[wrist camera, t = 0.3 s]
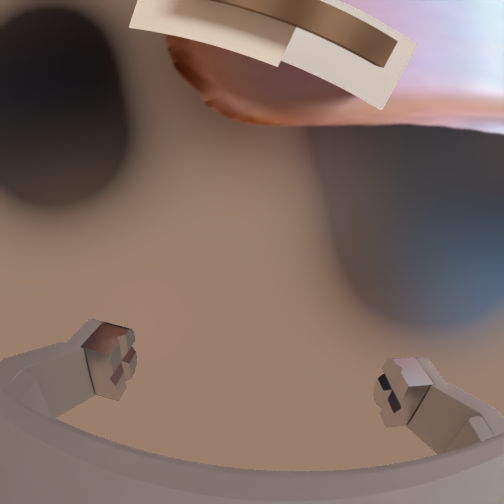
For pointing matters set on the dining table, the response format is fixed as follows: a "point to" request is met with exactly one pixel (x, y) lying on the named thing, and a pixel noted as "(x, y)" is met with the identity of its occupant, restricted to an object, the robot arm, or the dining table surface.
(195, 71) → the dining table surface
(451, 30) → the dining table surface
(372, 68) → the stepped stand
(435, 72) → the dining table surface
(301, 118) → the dining table surface
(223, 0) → the walnut bar
